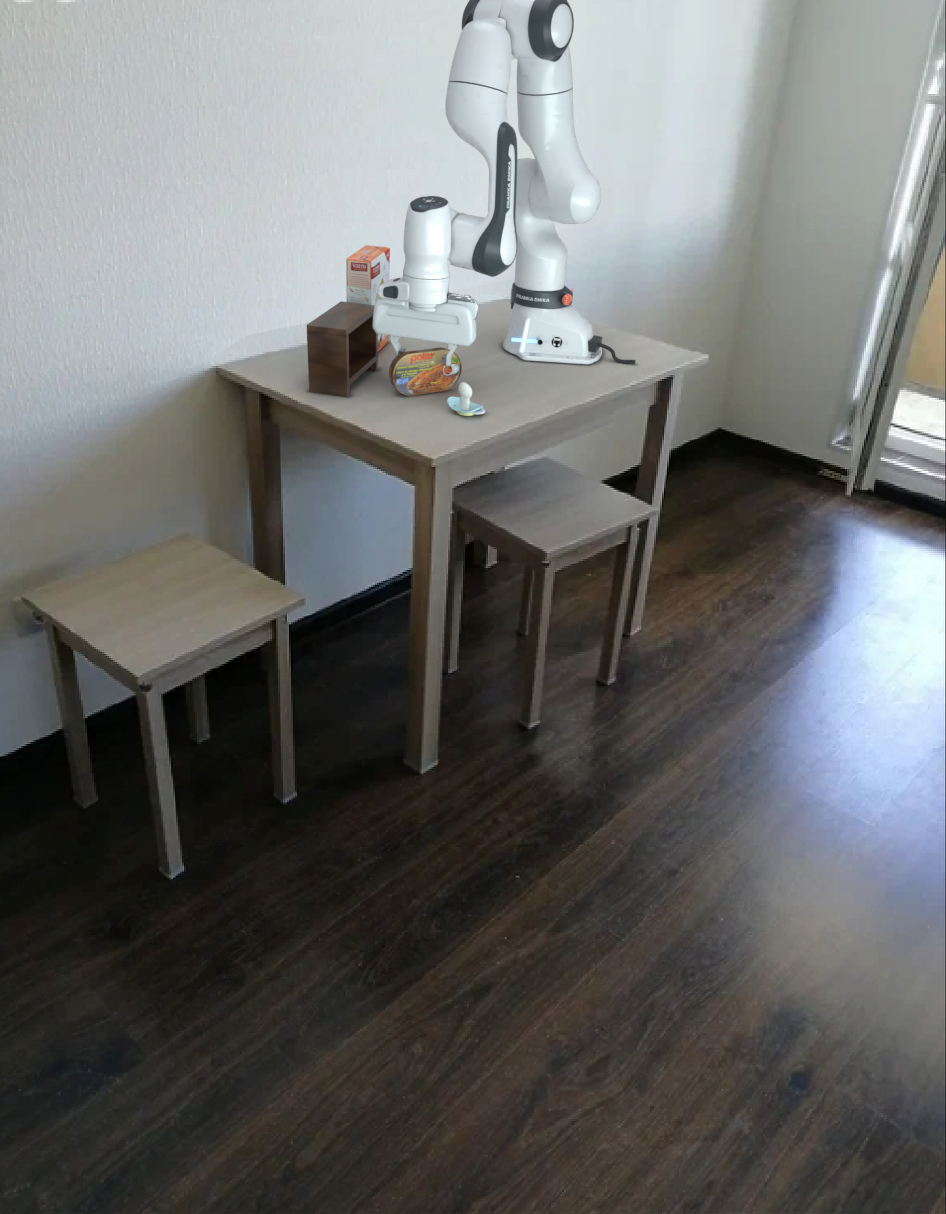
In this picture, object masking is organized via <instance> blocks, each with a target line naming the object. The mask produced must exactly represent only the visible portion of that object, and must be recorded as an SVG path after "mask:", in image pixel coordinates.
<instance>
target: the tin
mask: <svg viewBox="0 0 946 1214" xmlns="http://www.w3.org/2000/svg"><path fill="white" fill-rule="evenodd" d="M450 350H451V349H448V348H446V347H432V348H424V349H416V350H408V351H405V352H403V353H401V354H399V355H398V356H396V355H395V357H394V358H393V360H392V361H391V363H390V365H389V370H388V376H389V381H390V383H391V385H392V387H393V388H394V389H395V390H397V391H398V392H399V393H400V394H402V395H404V396H409V397H412V396H419V395H425V394H432V393H441V392H446V391H449V390H451V389H452V388H453V387H454V386H455V385H457V383H458V382H459V380H460V378H461V375H462V369H463V365H462V361H461V358H460V356H459V355H458V354H457V353H456V352H455V351H454V353H453V354H452V356H451V364H450V365H449V366H445V365H442V356H443V355H444V354H448V353H449V351H450Z"/></svg>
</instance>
